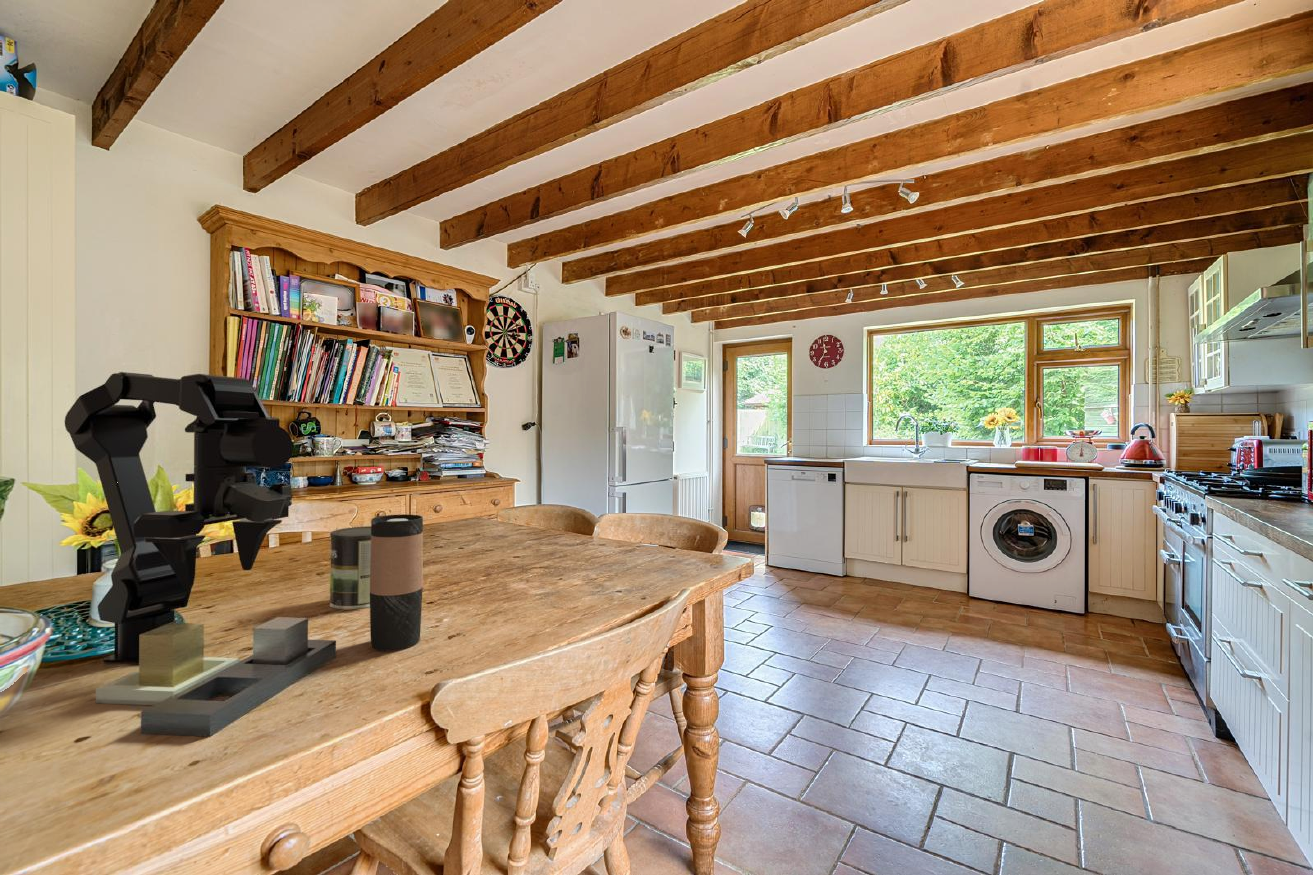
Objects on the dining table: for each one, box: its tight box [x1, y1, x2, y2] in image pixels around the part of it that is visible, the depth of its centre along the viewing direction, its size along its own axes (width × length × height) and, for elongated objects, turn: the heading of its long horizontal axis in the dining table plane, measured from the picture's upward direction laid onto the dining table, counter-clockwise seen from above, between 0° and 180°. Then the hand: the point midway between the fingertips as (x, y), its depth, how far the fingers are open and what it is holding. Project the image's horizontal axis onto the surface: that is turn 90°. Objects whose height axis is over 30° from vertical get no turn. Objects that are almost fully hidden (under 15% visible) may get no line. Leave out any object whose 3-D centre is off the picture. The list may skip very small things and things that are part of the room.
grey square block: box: [252, 616, 309, 665], centre depth 77 cm, size 4×4×7 cm
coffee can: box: [329, 525, 371, 611], centre depth 110 cm, size 10×10×14 cm
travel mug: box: [369, 514, 424, 652], centre depth 89 cm, size 8×8×20 cm
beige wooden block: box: [138, 622, 205, 687], centre depth 73 cm, size 4×4×7 cm
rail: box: [140, 639, 337, 738], centre depth 72 cm, size 8×22×2 cm, turn 177°
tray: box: [95, 656, 241, 706], centre depth 73 cm, size 10×10×2 cm
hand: (219, 577), depth 77 cm, fingers open, 9 cm apart
